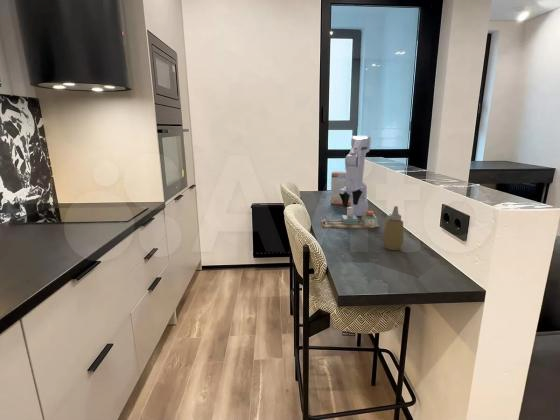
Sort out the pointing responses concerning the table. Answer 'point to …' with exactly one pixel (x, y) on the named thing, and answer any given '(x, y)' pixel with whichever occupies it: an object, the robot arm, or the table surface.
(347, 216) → the carriage
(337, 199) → the cracker box
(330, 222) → the rail track
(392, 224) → the squeeze bottle
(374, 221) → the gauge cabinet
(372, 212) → the button
